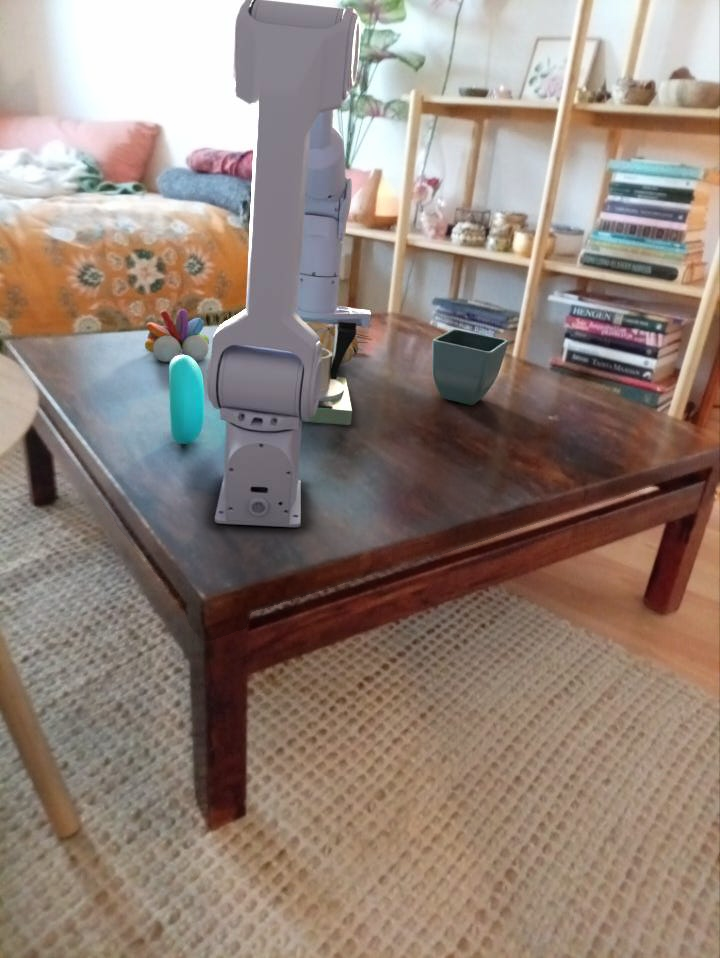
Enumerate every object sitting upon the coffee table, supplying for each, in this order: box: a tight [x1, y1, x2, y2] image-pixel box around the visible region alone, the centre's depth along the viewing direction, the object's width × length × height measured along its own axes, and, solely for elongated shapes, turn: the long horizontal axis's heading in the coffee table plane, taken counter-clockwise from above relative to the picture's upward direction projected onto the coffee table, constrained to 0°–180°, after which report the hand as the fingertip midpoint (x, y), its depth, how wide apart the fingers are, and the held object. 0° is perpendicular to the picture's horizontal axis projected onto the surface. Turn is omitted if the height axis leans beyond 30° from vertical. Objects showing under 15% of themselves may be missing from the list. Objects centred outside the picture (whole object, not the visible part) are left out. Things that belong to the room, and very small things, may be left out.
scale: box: [302, 376, 353, 426], centre depth 96 cm, size 13×11×3 cm
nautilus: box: [305, 322, 372, 366], centre depth 113 cm, size 8×22×15 cm
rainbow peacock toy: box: [144, 308, 210, 363], centre depth 107 cm, size 8×10×7 cm
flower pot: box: [431, 328, 509, 406], centre depth 103 cm, size 9×9×9 cm
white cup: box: [320, 348, 333, 391], centre depth 94 cm, size 6×6×5 cm
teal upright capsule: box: [168, 354, 205, 445], centre depth 80 cm, size 10×10×10 cm
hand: (309, 375), depth 95 cm, fingers open, 6 cm apart
